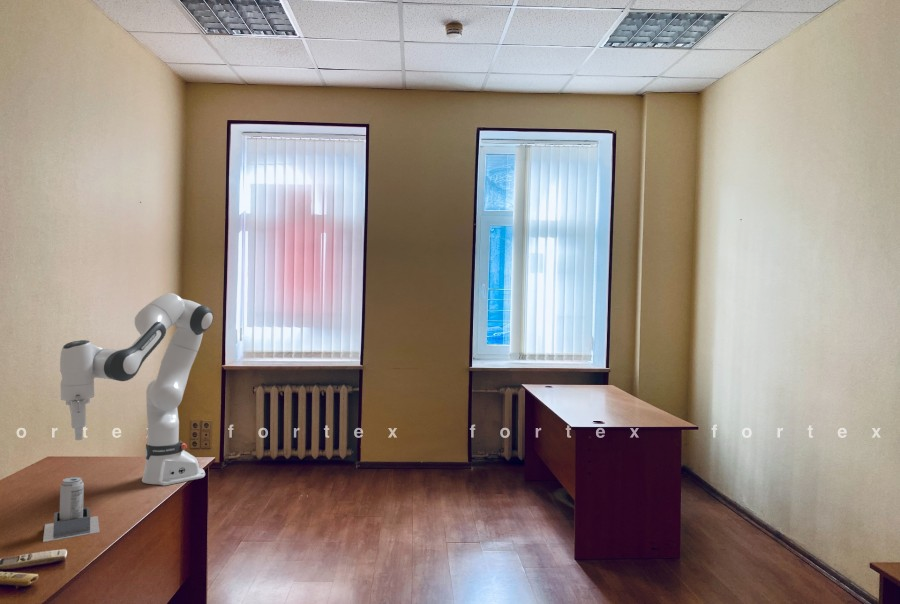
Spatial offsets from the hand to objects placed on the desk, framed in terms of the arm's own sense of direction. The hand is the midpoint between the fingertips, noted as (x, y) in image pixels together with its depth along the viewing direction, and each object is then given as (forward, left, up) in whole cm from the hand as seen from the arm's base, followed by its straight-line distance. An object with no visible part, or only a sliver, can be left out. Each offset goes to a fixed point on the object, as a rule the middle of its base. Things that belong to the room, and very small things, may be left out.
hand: (78, 436), depth 179 cm
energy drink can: (+2, +4, -27) cm, 28 cm away
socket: (+1, +4, -28) cm, 29 cm away
